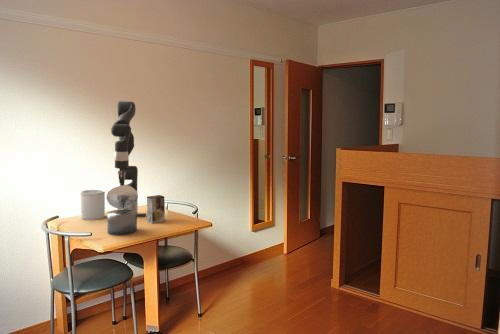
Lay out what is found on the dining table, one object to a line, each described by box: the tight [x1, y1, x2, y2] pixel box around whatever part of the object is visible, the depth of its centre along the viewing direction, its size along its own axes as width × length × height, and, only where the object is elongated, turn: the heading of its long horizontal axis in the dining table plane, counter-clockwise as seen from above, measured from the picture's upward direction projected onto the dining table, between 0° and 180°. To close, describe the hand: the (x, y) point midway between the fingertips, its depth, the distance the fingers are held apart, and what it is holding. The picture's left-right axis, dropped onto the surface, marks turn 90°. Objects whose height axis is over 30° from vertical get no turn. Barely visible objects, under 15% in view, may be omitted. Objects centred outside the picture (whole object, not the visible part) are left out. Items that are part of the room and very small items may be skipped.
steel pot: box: [106, 209, 147, 236], centre depth 223 cm, size 16×21×11 cm
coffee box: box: [146, 194, 166, 224], centre depth 246 cm, size 9×6×16 cm
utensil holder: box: [79, 188, 106, 221], centre depth 253 cm, size 15×15×18 cm
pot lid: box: [106, 184, 139, 210], centre depth 225 cm, size 18×17×3 cm
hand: (122, 189), depth 223 cm, fingers closed
